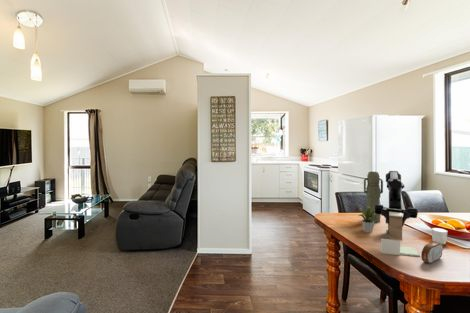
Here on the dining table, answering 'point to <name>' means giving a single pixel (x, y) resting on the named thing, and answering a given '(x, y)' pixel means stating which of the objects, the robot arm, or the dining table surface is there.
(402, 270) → the dining table surface
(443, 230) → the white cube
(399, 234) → the marked block
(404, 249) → the pad
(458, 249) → the dining table surface
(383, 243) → the low screen
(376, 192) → the thermos
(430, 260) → the tin
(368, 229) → the house plant
